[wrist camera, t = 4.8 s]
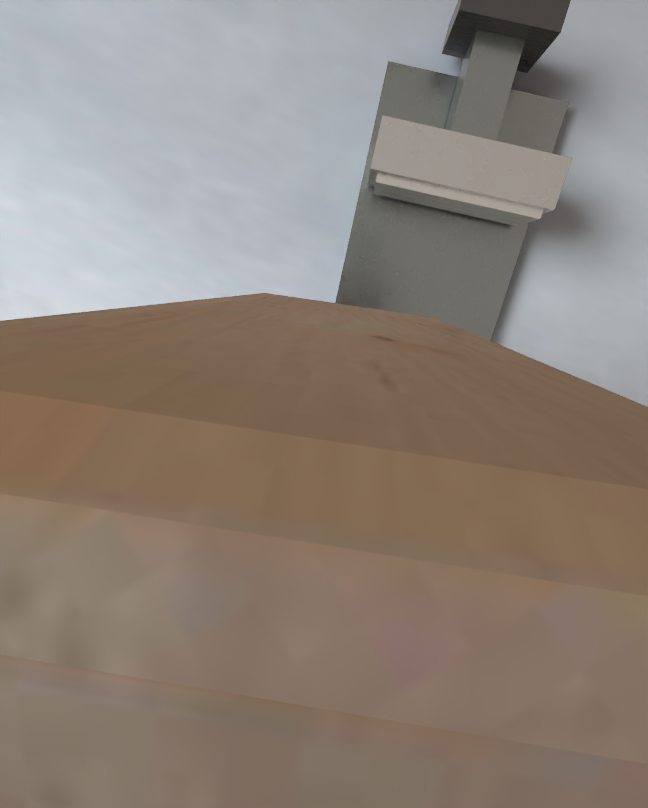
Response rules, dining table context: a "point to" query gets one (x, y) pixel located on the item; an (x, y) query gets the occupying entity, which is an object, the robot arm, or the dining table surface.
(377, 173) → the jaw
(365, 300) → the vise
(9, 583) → the wooden block
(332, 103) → the dining table surface
